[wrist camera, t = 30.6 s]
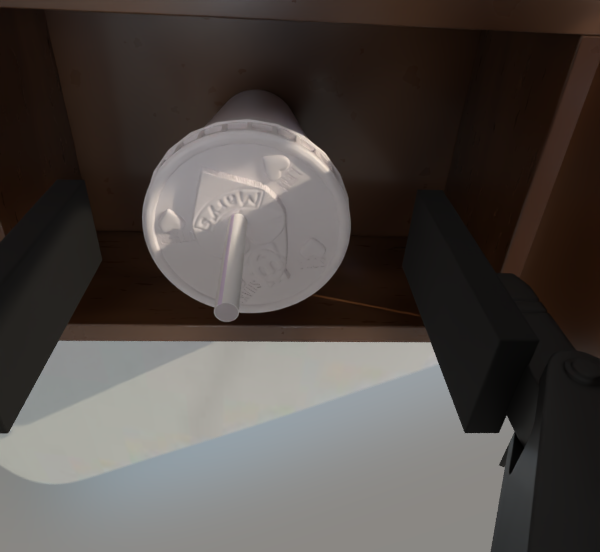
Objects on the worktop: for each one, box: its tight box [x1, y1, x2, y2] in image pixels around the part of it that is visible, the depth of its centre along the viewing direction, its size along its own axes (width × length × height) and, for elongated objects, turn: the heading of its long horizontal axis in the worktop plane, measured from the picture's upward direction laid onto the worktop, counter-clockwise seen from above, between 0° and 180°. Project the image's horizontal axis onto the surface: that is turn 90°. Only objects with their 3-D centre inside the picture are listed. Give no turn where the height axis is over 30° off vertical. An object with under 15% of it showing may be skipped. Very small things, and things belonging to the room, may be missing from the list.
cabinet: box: [0, 0, 600, 342], centre depth 20 cm, size 20×13×8 cm, turn 87°
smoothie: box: [142, 90, 351, 322], centre depth 17 cm, size 6×6×14 cm
